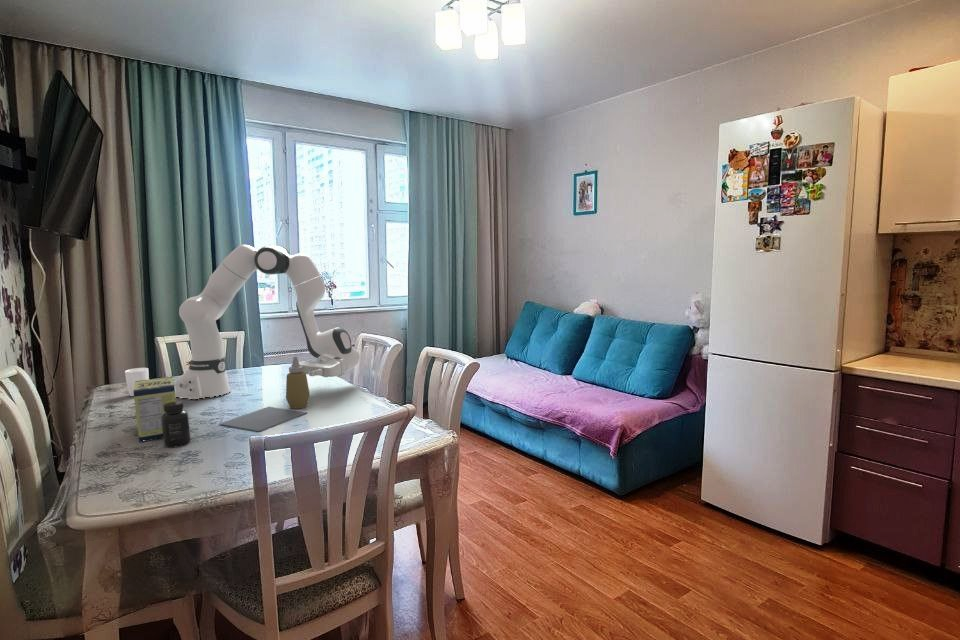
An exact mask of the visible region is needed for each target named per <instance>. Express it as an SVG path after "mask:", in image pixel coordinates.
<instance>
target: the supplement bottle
mask: <svg viewBox="0 0 960 640" xmlns="http://www.w3.org/2000/svg"><path fill="white" fill-rule="evenodd" d="M184 409H185V408H184V402H183V401H180V400H179V401H176V402H170V403H167V404H165V405H164V412H165V413H164V414H163V415H162V417H161V423H162V432H163V438H162V441H163V446H164V447H166V446H167V447H166V448H176V447H175V446H179V447H182V446H181V445H183V446H185V445H184V444H186V445H188V444H189V443H190V442H191V440H192V436H191V429H190V428H191V427H190V418H189V413H188V412H187V410H184ZM187 443H188V444H187Z"/></svg>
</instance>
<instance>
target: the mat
mask: <svg viewBox="0 0 960 640" xmlns="http://www.w3.org/2000/svg"><path fill="white" fill-rule="evenodd" d="M307 414H308V412H307V411H302V410H301V411H299V410H295V409H287V408H279V407H273V406H267V407H264V408H261V409H258V410H255V411H252V412H249V413H246V414H243V415H241V416H238V417H235V418H231V419H229V420H225V421H223V422H219V424H221V425H220V426H223V425H226V426H225V427H228V426H231V427H230V428H233V427H236V428H235V429H239V428H241V429H240V430H244V429H246V430H245V431H250V430H253V431H252V432H255V431H258V432H257V433H260V432H259V431H261V432H263V431H266V430H269V429H271V428H273V427H276V426H278V425H282V424H284V423H286V422H289V421H292V420H294V419H296V418H297V419H298V418H299V417H302V416H305V415H307ZM219 424H218V425H219ZM268 428H269V429H268ZM262 430H263V431H262Z"/></svg>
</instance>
